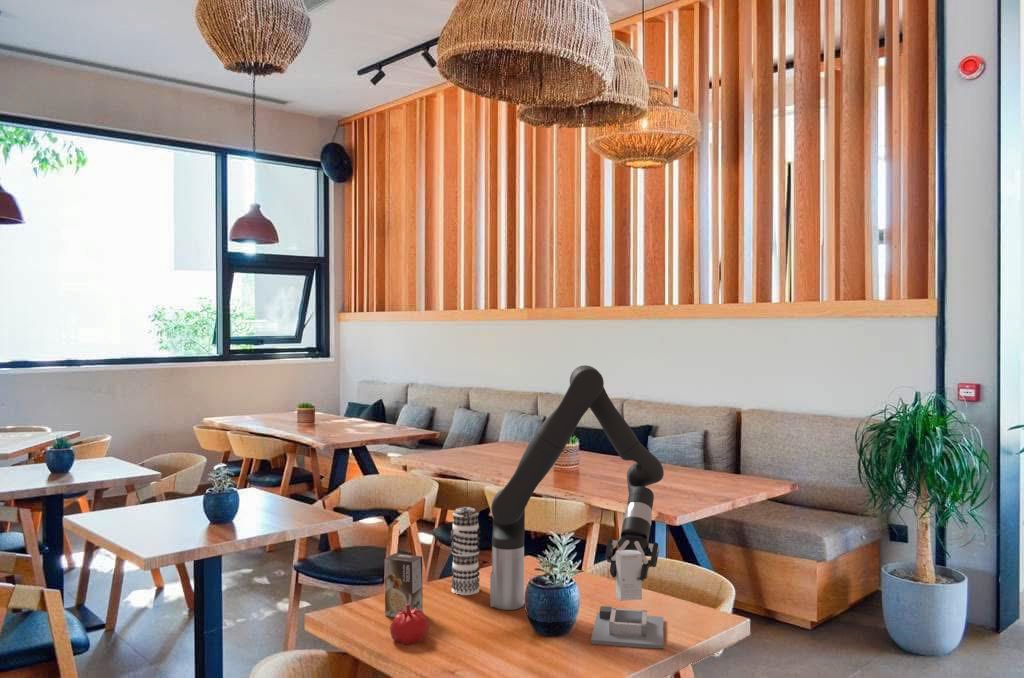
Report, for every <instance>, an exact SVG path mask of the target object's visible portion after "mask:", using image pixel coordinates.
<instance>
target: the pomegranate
mask: <svg viewBox="0 0 1024 678" xmlns="http://www.w3.org/2000/svg"><path fill="white" fill-rule="evenodd" d="M406 607H407V611H403V610H401V609H398V610H396V611H401V612H400V613H398V614H397V615H396V617H393V620H392V622H391V624H390V626H389V629H390V636H391V638H392V640H394V641H395V642H396V643H398V644H402V645H407V646H409V645H413V644H416V643H419V642H421V641H422V640H424V638H426V636H427V635H428V633H429V629H430V622H429V619H428V618H427V616H426V615H425V612H424V611H423V612H421V611H420V610H416V609H420V608H415V609H414V610H410V604H407V605H406Z"/></svg>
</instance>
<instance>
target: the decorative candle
mask: <svg viewBox="0 0 1024 678" xmlns="http://www.w3.org/2000/svg"><path fill="white" fill-rule="evenodd" d="M479 514H480V513H479V512H478V511H477V510H476V509H475V508H474V507H472V506H461V507H456V508H455V510H454V511H453V512H452V513H451V515H452V516H453V517H452V518H453V519H452V521H453V522H452V530H450V540H451V541H452V542H451V544H450V545H451V548H450V549H451V550H450V551H451V554H452V555H453V556H452V557H453V558H452V559H453V560H452V566H451V576H452V578H451V580H450V581H451V586H450V587H451V592H452V594H454V593H456V594H455V595H457V594H460V595H459V596H470V595H471V596H472V595H476V594H478V593H479V592H480V588H479V587H480V577H479V576H480V572H479V571H480V567H479V558H478V557H479V554H480V548H479V547H478V546H480V545H481V542H480V541H479V540H481V537H480V536H479V535H480V533H481V530H480V529H481V525H479Z"/></svg>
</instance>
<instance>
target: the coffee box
mask: <svg viewBox="0 0 1024 678" xmlns="http://www.w3.org/2000/svg"><path fill="white" fill-rule="evenodd" d="M423 594H424V593H423V556H421V555H415V554H414V555H413V554H405V553H396V552H395V553H393V554H391V555H389V556H388V557H386V558H384V605H385V606H384V609H385V610H384V614H385V616H386V617H390V618H395V617H396V615H397V614H398V613H400V612H401V611H396V610H398V609H401V610H403V611H407V607H406V605H407V604H410V610H414V609H415V608H420V609H416V610H420V611H421V612H423V613H424V610H423V609H424V607H423V606H424V604H423V603H424V601H423V599H424V598H423Z"/></svg>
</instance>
